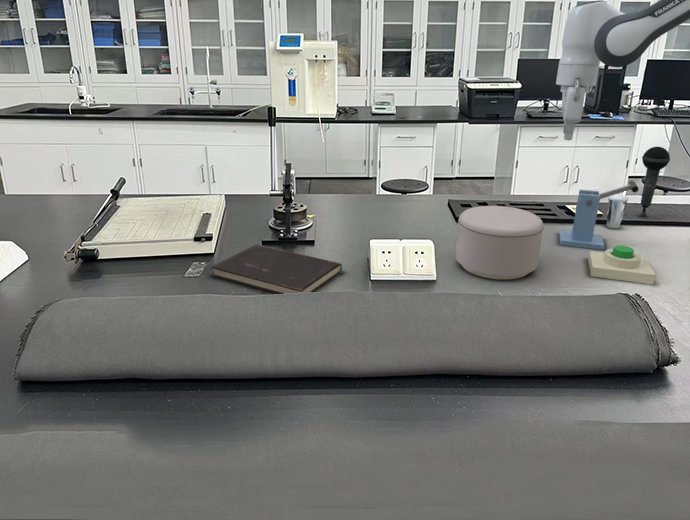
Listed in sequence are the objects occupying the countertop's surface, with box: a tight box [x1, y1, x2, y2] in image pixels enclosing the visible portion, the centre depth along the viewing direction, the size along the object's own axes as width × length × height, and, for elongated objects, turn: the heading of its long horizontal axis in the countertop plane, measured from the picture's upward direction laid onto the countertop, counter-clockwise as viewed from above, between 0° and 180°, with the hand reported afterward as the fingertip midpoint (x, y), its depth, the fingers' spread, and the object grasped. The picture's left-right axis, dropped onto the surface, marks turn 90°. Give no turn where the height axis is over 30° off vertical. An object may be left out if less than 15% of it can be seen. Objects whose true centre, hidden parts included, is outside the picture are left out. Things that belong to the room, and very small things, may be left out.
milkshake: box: [605, 191, 629, 229], centre depth 143 cm, size 4×5×10 cm
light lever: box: [589, 180, 639, 200], centre depth 128 cm, size 12×6×2 cm, turn 69°
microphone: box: [640, 146, 671, 217], centre depth 150 cm, size 7×7×20 cm
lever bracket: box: [558, 189, 605, 251], centre depth 132 cm, size 10×8×13 cm
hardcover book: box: [210, 243, 343, 295], centre depth 115 cm, size 16×23×2 cm
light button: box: [612, 244, 635, 259], centre depth 115 cm, size 4×4×2 cm
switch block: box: [587, 248, 656, 285], centre depth 116 cm, size 12×10×4 cm
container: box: [454, 205, 545, 280], centre depth 118 cm, size 18×18×12 cm
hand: (567, 136), depth 131 cm, fingers open, 8 cm apart
